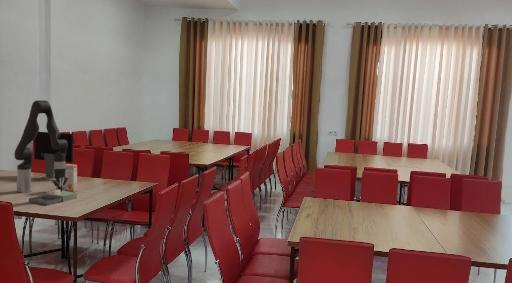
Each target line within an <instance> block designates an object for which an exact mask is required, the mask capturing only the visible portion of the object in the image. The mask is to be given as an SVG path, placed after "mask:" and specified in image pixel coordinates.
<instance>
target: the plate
mask: <svg viewBox="0 0 512 283" xmlns="http://www.w3.org/2000/svg"><path fill="white" fill-rule="evenodd" d="M44 195H46V196H51V197H57V198H62V202H61V203H63V202H67V201H73V200H77V199H78V192H68V191H62V192H61V194H59V195H50V191H47V192H45V193H44Z"/></svg>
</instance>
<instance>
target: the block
mask: <svg viewBox="0 0 512 283" xmlns="http://www.w3.org/2000/svg"><path fill="white" fill-rule="evenodd" d="M49 192H50V195H59V194H61V190H58V189H56V188H54V189H53V188H52V189H50V190H49Z"/></svg>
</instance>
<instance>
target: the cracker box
mask: <svg viewBox="0 0 512 283" xmlns="http://www.w3.org/2000/svg"><path fill="white" fill-rule="evenodd" d="M65 176H66V177H67V178H68V180H67V182H66V184H65V185H63V186H62V191H68V192H73V193H77V191H78V165H77V164H74V163H73V164H72V163H70V164H69V163H66V174H65ZM55 187H56V188H55V189H58V187H57V186H55Z"/></svg>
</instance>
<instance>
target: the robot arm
mask: <svg viewBox="0 0 512 283" xmlns="http://www.w3.org/2000/svg"><path fill="white" fill-rule="evenodd" d="M52 109H53V108H52V106H51V104H50V102H49V101H48V100H37V99H36V100H34V101H33V102H32V104H31V107H30V110H29V115H28V120H27V121H26V124H25V126H24V129H23V133H22V135H21V138H20V140H19V142H18V144H17V146H16V148H15V151H14V156H13V157H14V159H15V160H17V161H22V162H21V163H19V164H17V166H16V168H17V169H16V170H17V172H16V173H17V175H16V176H17V177H16V192H17V193H30V192H32V167H33V166H32V165H33V150H32V148H31V147H28V146H29V145H30V144H31V143H32V142H34V139H35V138H36V136H37V134H38V132H40V124H39V122H38V116H39V114H44V115H45V117H46V125H45V126H46V127H45V128H46V132H48V133H49V135H50V139H51V146H52V148H53V149H55V150H59V152H58V153H56V154H55V155H54V176H55V177H54V179H51V182H52V183H53V185H54V186H55V187H56V186H57V187H58V190H61V192H62V186H63V185H65V184H66V182H67V180H68V178H67V177H66V176H65V174H66V164H67V162H65V155H66V151H67V147H68V143H67V141H66V140H65V139H60V140H58V139H57V138H58V137H60V135H61V134H60V133H61V132H60V129H59V128H58V126H57V123H56V120H55V116H54V113H53V110H52Z"/></svg>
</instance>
